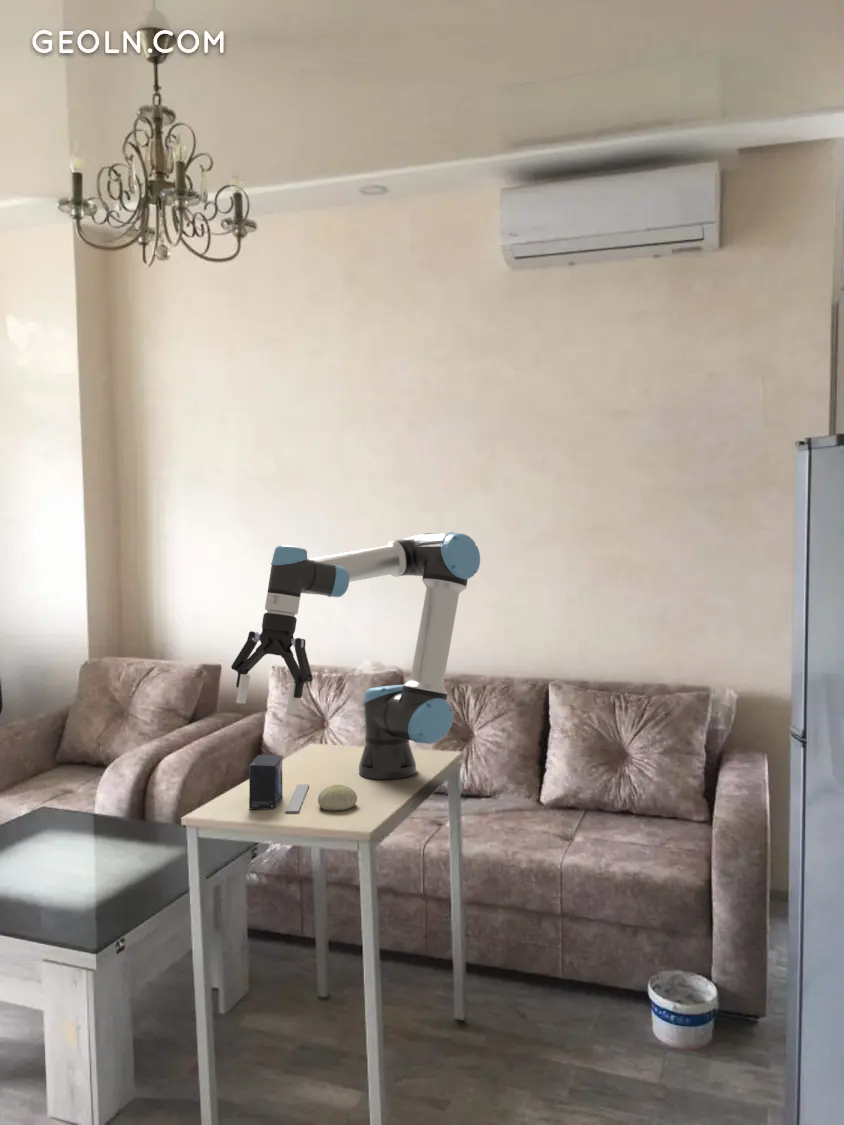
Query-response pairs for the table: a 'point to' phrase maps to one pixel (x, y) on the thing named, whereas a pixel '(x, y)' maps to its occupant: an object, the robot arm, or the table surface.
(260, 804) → the small box
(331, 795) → the sea urchin shell
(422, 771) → the table surface
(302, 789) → the gray strip
